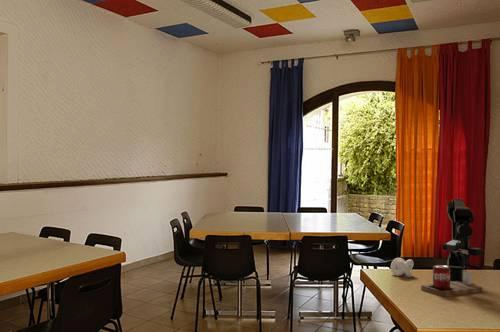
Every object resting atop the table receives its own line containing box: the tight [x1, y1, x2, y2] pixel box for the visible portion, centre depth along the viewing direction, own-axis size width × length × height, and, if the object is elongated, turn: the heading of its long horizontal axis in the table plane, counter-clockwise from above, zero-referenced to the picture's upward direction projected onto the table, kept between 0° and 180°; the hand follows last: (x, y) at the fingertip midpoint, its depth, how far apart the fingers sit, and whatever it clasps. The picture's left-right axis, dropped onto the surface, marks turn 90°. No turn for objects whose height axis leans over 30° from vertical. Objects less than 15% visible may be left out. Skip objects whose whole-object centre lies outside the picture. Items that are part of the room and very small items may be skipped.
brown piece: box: [420, 270, 483, 298], centre depth 203 cm, size 25×13×8 cm, turn 115°
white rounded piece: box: [390, 257, 415, 278], centre depth 233 cm, size 11×12×9 cm
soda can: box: [432, 264, 451, 291], centre depth 200 cm, size 7×7×12 cm
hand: (462, 267), depth 206 cm, fingers closed
